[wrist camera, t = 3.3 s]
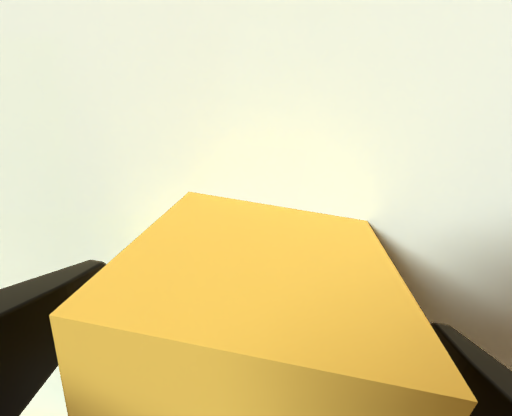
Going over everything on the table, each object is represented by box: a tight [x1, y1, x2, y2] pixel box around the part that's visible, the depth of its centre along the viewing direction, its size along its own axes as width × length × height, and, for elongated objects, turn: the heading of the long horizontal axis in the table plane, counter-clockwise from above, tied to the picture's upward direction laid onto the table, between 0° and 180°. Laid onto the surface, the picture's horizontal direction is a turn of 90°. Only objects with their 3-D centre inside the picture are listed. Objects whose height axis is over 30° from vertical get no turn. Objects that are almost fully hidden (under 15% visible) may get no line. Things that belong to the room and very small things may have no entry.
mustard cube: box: [49, 192, 478, 416], centre depth 6 cm, size 5×5×5 cm
